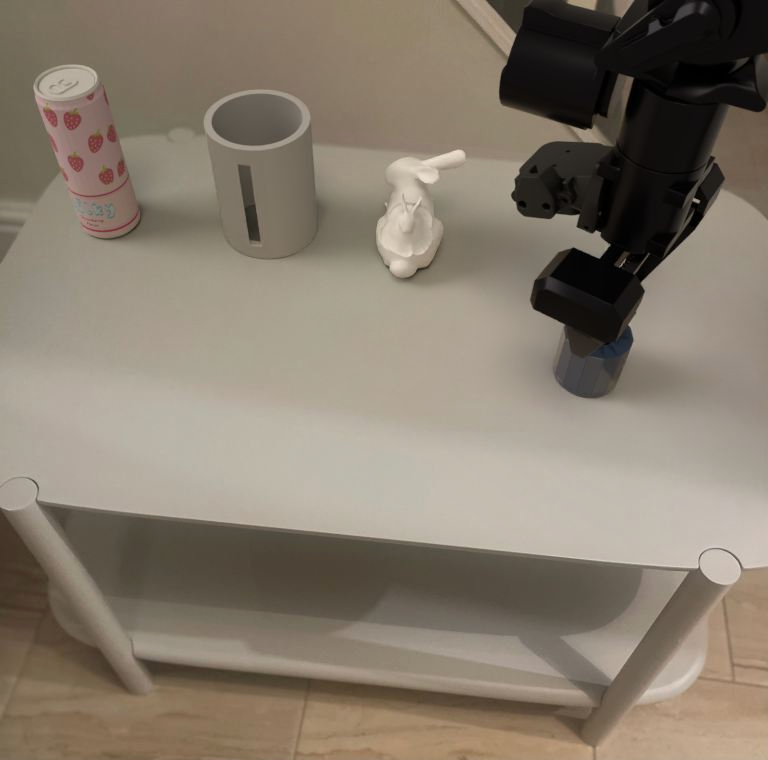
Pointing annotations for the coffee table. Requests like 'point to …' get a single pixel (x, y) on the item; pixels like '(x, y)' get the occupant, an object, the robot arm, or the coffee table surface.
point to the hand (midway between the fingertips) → (604, 318)
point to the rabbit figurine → (412, 213)
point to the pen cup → (592, 366)
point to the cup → (263, 170)
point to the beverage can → (87, 149)
